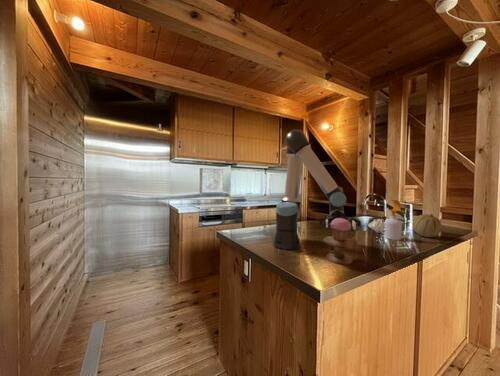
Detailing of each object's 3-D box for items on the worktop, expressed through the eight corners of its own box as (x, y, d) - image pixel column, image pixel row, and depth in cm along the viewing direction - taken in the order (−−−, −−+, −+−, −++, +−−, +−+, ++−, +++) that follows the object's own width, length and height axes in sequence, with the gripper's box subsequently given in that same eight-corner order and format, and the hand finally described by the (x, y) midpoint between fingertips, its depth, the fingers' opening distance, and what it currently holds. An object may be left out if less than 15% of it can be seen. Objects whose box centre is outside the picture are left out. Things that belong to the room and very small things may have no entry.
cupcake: (337, 236, 104) (338, 216, 104) (354, 241, 97) (355, 218, 96) (325, 238, 99) (326, 217, 99) (342, 243, 92) (343, 220, 92)
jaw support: (394, 229, 147) (383, 219, 148) (384, 238, 148) (373, 228, 149) (386, 226, 159) (376, 216, 160) (377, 234, 160) (367, 225, 161)
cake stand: (330, 265, 91) (330, 244, 91) (318, 254, 105) (319, 236, 105) (362, 265, 91) (363, 244, 91) (347, 254, 105) (347, 236, 105)
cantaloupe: (418, 233, 150) (418, 211, 150) (445, 237, 138) (446, 214, 137) (408, 235, 143) (408, 213, 142) (435, 241, 130) (436, 216, 130)
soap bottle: (380, 237, 139) (381, 199, 138) (391, 236, 142) (392, 198, 141) (394, 240, 130) (395, 200, 130) (405, 239, 133) (406, 199, 132)
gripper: (361, 226, 111) (370, 236, 90) (314, 223, 118) (312, 231, 98) (362, 211, 111) (370, 218, 90) (315, 209, 118) (313, 215, 97)
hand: (340, 225), depth 94 cm, fingers open, 11 cm apart
